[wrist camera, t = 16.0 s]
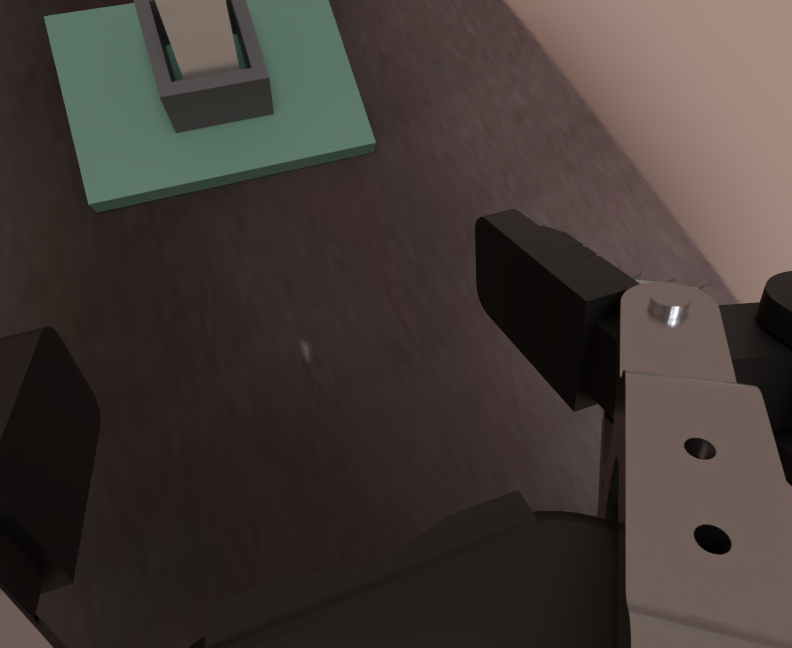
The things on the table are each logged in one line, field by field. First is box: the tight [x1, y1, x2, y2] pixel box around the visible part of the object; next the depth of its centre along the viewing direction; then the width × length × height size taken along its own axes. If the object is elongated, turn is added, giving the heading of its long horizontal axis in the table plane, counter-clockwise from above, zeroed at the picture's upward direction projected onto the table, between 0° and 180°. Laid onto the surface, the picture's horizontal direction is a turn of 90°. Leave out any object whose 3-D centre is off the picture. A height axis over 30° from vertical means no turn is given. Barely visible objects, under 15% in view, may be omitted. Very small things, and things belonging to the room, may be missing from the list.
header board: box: [44, 0, 376, 213], centre depth 41 cm, size 16×22×6 cm
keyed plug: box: [155, 0, 240, 80], centre depth 37 cm, size 5×4×11 cm
